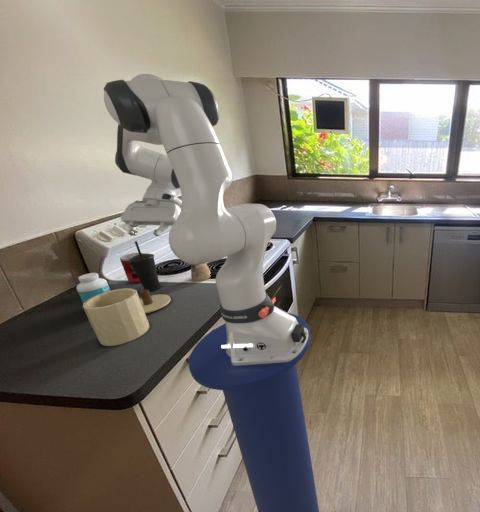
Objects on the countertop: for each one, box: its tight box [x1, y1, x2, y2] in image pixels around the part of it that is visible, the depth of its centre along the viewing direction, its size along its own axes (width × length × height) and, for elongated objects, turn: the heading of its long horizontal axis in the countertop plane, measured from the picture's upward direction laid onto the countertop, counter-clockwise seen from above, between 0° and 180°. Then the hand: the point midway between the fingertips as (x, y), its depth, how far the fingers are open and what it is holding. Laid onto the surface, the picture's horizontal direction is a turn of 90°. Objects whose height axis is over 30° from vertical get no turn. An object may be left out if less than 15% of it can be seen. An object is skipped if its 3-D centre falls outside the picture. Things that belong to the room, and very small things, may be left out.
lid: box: [138, 289, 172, 314], centre depth 101 cm, size 13×13×6 cm
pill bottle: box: [76, 272, 112, 304], centre depth 97 cm, size 8×7×14 cm
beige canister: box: [82, 287, 150, 347], centre depth 85 cm, size 12×12×12 cm
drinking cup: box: [129, 240, 161, 293], centre depth 110 cm, size 8×8×20 cm
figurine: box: [188, 263, 212, 283], centre depth 121 cm, size 7×7×12 cm
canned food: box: [119, 252, 143, 284], centre depth 120 cm, size 8×8×11 cm
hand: (144, 235), depth 97 cm, fingers open, 8 cm apart
